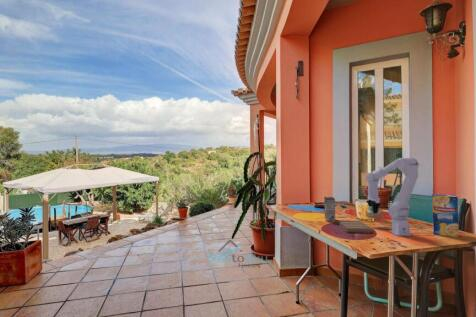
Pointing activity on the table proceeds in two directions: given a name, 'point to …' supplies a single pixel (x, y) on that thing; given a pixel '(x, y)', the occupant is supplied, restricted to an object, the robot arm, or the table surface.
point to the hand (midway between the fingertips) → (373, 212)
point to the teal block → (371, 208)
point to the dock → (354, 226)
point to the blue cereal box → (445, 215)
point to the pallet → (373, 214)
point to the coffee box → (329, 208)
